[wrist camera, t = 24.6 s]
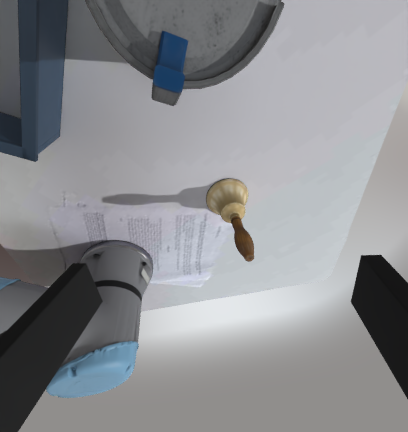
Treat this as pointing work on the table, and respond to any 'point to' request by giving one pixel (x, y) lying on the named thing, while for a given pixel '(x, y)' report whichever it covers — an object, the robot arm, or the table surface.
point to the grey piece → (186, 38)
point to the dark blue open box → (37, 79)
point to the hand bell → (232, 211)
